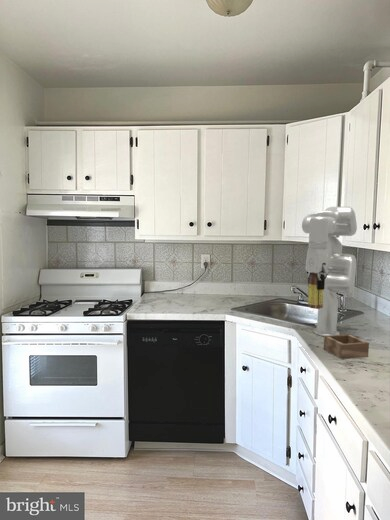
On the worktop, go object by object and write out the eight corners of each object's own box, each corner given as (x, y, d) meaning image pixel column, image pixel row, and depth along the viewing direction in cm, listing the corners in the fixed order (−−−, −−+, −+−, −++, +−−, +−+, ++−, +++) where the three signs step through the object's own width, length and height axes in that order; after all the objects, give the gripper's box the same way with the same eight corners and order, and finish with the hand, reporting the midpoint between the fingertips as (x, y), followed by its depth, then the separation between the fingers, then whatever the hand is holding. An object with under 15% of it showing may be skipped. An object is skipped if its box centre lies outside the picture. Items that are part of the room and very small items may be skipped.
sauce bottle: (319, 305, 162) (322, 260, 160) (325, 309, 156) (327, 262, 154) (304, 305, 162) (307, 260, 160) (309, 309, 156) (312, 262, 154)
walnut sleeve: (323, 348, 167) (324, 335, 167) (348, 346, 171) (349, 334, 170) (341, 359, 155) (342, 345, 154) (368, 356, 158) (369, 343, 158)
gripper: (299, 244, 164) (297, 284, 165) (322, 247, 147) (319, 292, 149) (314, 244, 166) (312, 284, 167) (338, 247, 149) (336, 291, 151)
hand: (315, 287), depth 158 cm, fingers closed on sauce bottle, 6 cm apart
